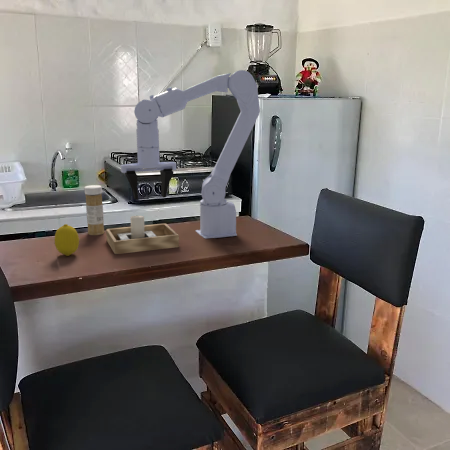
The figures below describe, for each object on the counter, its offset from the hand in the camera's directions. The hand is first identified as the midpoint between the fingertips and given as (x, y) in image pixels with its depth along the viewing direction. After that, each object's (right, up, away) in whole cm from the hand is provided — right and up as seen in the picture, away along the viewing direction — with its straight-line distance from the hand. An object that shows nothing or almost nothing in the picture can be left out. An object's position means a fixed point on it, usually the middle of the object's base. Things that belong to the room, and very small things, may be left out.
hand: (150, 197), depth 136 cm
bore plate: (-2, -12, -7) cm, 14 cm away
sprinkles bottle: (-15, -10, +3) cm, 19 cm away
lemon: (-17, -15, -15) cm, 28 cm away
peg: (-2, -12, -7) cm, 14 cm away
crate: (-1, -13, -7) cm, 14 cm away
